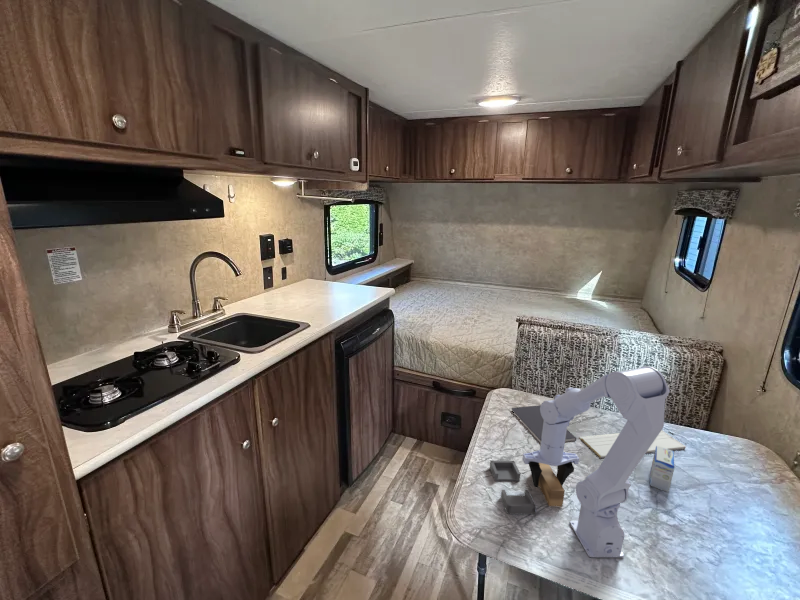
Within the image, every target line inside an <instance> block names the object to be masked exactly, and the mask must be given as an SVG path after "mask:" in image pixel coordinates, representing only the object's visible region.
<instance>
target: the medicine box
mask: <svg viewBox="0 0 800 600" xmlns="http://www.w3.org/2000/svg"><path fill="white" fill-rule="evenodd" d="M675 468H676V467H675V450H669V449H666V448H663V447H659V446H656V449H655V452H653V458H652V461H651V467H650V475H649V486H651V487H653V488H656V489H658V490H661V491H664V492H667V493H669V492H670V487H671V485H672V480H673V475H674V471H675Z"/></svg>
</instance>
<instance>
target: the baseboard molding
mask: <svg viewBox="0 0 800 600" xmlns="http://www.w3.org/2000/svg"><path fill="white" fill-rule="evenodd" d="M619 434H620V432H618V433H608V434H607V433H606V434H598V435H597V434H595V435H587V436H579V437H578V438H579V440H580V441H582V443H584V444H585V445H586V446H587V447H588V448H589V449H590V450H591V451H592V452H594V453H595V455H596V456H598V457H599V458H600V459H604V458H605V457H606V455H607V453H608V452H609V450H610V448H611V447H612V445H613V444H614V442H615V440H616V439H617V437H618V435H619ZM669 434H670V435H669ZM671 435H672V436H671ZM673 436H674V437H673ZM675 438H676V439H675ZM679 440H680V441H681V442H682V440H681V439H679V438H677V437H676V436H675V435H674V433H673V432H671V431H667V432H665V430H664V429H662V430H661V432H660V433H659V435H658V436H657V437H656V439H655V440H654V442H653V443H652V445H651V446H650V448H649V449H648V450H647V452H646V453H645V454H649V453H655V449H656V446H659V447H663V448H666V449H669V450H671V451H675V450H677V451H678V450H685V449H686V447H687V443H681V442H680V441H679Z"/></svg>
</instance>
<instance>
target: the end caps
mask: <svg viewBox="0 0 800 600" xmlns="http://www.w3.org/2000/svg"><path fill="white" fill-rule="evenodd" d="M489 469H490V472H491V474H492V477H493V480H494V481H495V482H520V479H521V472H520V470H519V468H518V466H517V464H516V462H515V460H490V463H489ZM500 499H501V500H502V505H503V506H504V509H505V512H506V514H507V515H536V509H537V505H536V503H535V501H534V499H533V497H532V494H531V493H530V490H529V489H524V495H518V494H517V495H516V494H515V495H514V494H513V495H508V494H507V492H506V490H505V489H501V493H500Z"/></svg>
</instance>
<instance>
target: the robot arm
mask: <svg viewBox="0 0 800 600" xmlns="http://www.w3.org/2000/svg"><path fill="white" fill-rule="evenodd" d="M564 391H565V392H564V393H562V394H556V395H554V399H551V400H544V401H542V402H541V404H540V405H541V406H540V412H541V416H542V418H543V419H544V422H543V430H542V438H541V443H540V447H539V449H538V450H536V451H535V450H534V451H531V452H525V453H522V457H521V458H522V462H523V463H524V465H528V467H529V470H530V472H531V473H530V474H531V479H532V480H531V482H532V485H533V486H534V487H535V488H539V486H538V484H539V477H540V474H541V472H542V470H541V468H540V465H539V463H543V464H547V465H549V466H553V467H557V468H556V469H557V470H556V475H555V476H556V477H557V479H558V480H559V482H560V484H561V485H562V486H563V485H564V483H565V481H566V480H567V478H568V477H570V475H571V474H572V473H574V471H575V467H574V465H579V461H580V457H579V456H578V454H577V453H573V452H566V451H564V450H565V443H566V441H565V438H566V431H567V430H568V427H569V426H570V422H571V421H573V419H574V418H575V417H576V416H579V415H581V414H583V413H585V412H587V411H589V409H591V403H594V402H595V401H597V400H601V399H602V398H605V397H606V398H608V399H609V398H610V399H611V400H612V402H613V403H614V405H615V407H616V409H618V411H619V413H620V414H621V416H622V417H623V419H625V420H627V421H626V422H625V424H624V426H623V427H622V429H621V431H619V433H620V434H619V435H618V437H617V439H616V440H615V442H614V444H613V445H612V447H611V448H610V450H609V452H608V453H607V455H606V457H605V458H603V460H602V462H601V463H600V465H599V466H598V468H597V469H596V470H594V471H593V472H591V473H589V474H588V475H587V476H586V477H585V479H584V480H581V481H578V482H577V483H576V485H575V493H576V498H577V499H578V501H579V503H580V508H579V513H578V519H577V520H576V519H575V520H572V519H571V520H569V525H570V526H571V528H572V529H573V531H574V533H575V535H576V537H577V539H578V540H579V541H580V543H581V545H582V547H583V549H584V551H585V552H586V554H587V556H588V557H589V558H624V557H625V553H623V550H622V549H623V544H624V539H625V532H624V530H623V528H622V526H621V523H620V521H619V518H618V509H620V506H621V504H623V503H625V502H627V500H628V498H629V489H630V487H631V483H630V481H629V478H630V476H631V475H632V474H633V472H634V471H635V470H636V468H637V466H638V464H640V462H641V460H642V459H643V458H644V456H645V455H646V454H647V453H646V452H647V450H648V449H649V448H650V446H651V445H652V443H653V442H654V440H655V439H656V437H657V436H658V435H659V433H660V432H661V430H664V425H665V407H666V399H667V397H668V396H669V394H670V392H671V390H670V388H669V385H668V383H667V381H666V378H665V377H664V375H663V374H662V373H661V371H660V370H658V369H657V368H655V367H653V366H648V365H647V366H646V365H645V366H641V367H638V368H633V369H632V368H631V369H628V370H626V369H625V370H622V371H617V370H616V371H612V372H610V373H609V374H605V375H602V376H601V377H599V378H598V379H596V380H595V381H593V382H592V383H590V384H588V385H587V386H586V387H584V388H577V387H571V386H570V387H567V388H565V390H564ZM573 464H574V465H573Z"/></svg>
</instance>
